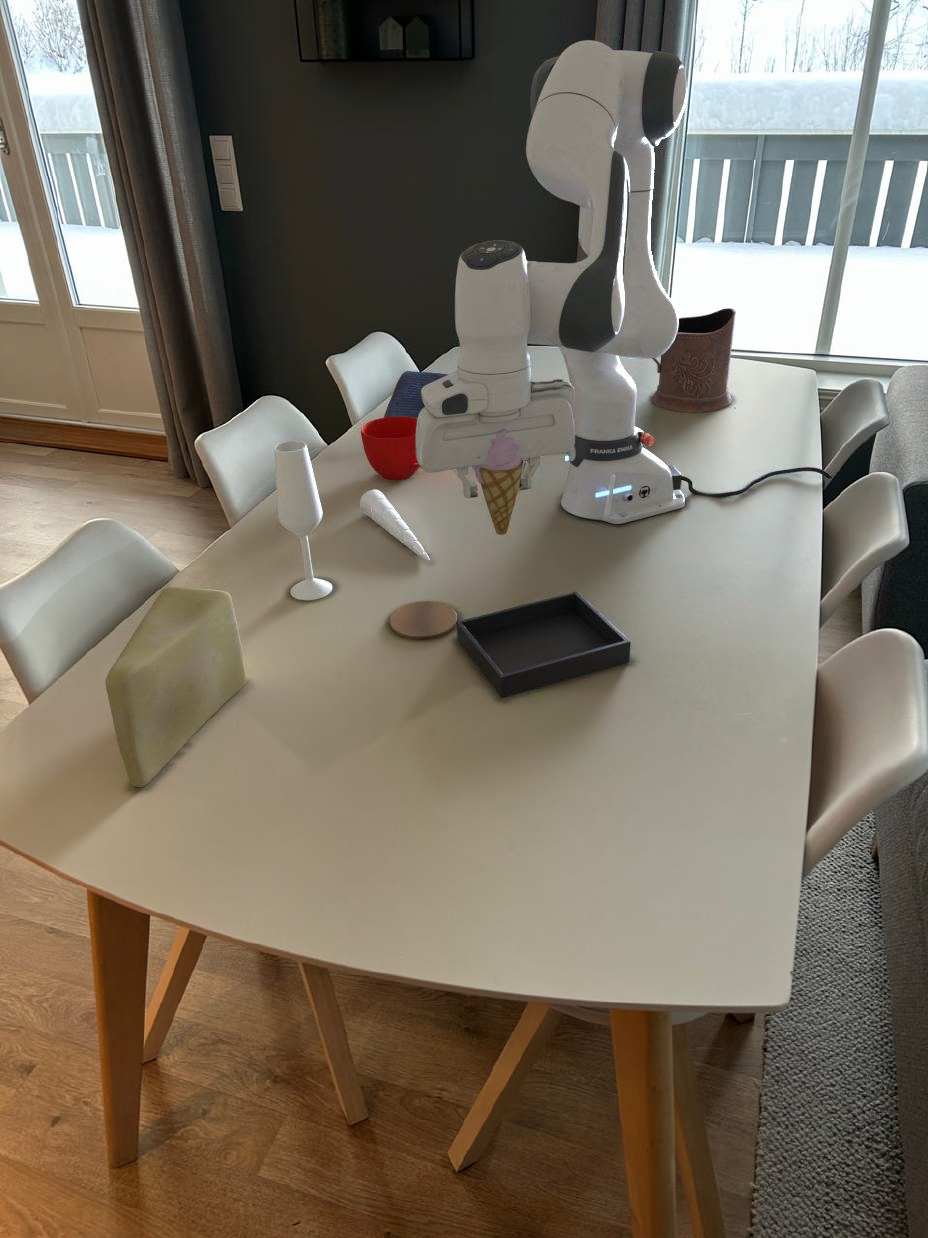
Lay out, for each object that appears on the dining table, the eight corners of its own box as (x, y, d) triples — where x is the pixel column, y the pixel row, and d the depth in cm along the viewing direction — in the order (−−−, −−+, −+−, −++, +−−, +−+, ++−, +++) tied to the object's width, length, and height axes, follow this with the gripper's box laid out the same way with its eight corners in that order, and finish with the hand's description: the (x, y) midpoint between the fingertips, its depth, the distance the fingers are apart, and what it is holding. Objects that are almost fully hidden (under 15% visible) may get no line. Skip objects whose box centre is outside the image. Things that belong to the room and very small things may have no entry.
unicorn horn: (408, 568, 149) (406, 542, 146) (359, 515, 167) (357, 491, 165) (435, 561, 150) (433, 535, 148) (383, 509, 169) (381, 485, 166)
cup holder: (740, 410, 207) (754, 296, 194) (634, 413, 208) (641, 301, 195) (721, 385, 223) (733, 279, 210) (623, 389, 224) (629, 283, 211)
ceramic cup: (404, 499, 173) (400, 449, 167) (352, 475, 184) (347, 427, 178) (455, 479, 180) (453, 431, 174) (403, 457, 191) (399, 411, 186)
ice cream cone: (488, 548, 117) (484, 437, 109) (465, 530, 122) (460, 422, 114) (532, 535, 119) (531, 426, 111) (508, 518, 124) (506, 412, 116)
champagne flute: (294, 579, 147) (272, 438, 135) (335, 578, 147) (316, 437, 134) (286, 600, 141) (262, 455, 129) (329, 599, 141) (308, 454, 129)
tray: (575, 610, 136) (576, 591, 134) (629, 661, 123) (630, 641, 122) (457, 641, 130) (456, 621, 128) (501, 698, 118) (501, 677, 116)
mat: (589, 414, 216) (593, 372, 207) (582, 488, 198) (586, 445, 189) (404, 400, 221) (400, 359, 212) (380, 471, 203) (376, 429, 194)
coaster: (448, 599, 140) (448, 596, 139) (464, 632, 131) (464, 629, 131) (384, 610, 138) (384, 607, 138) (397, 644, 129) (396, 641, 129)
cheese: (175, 794, 104) (146, 689, 97) (99, 785, 106) (65, 681, 98) (251, 683, 123) (232, 586, 115) (185, 676, 125) (162, 581, 117)
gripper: (565, 370, 115) (564, 472, 122) (408, 389, 111) (416, 494, 118) (584, 384, 110) (581, 489, 117) (419, 405, 105) (427, 513, 113)
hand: (497, 492), depth 117 cm, fingers closed on ice cream cone, 6 cm apart
